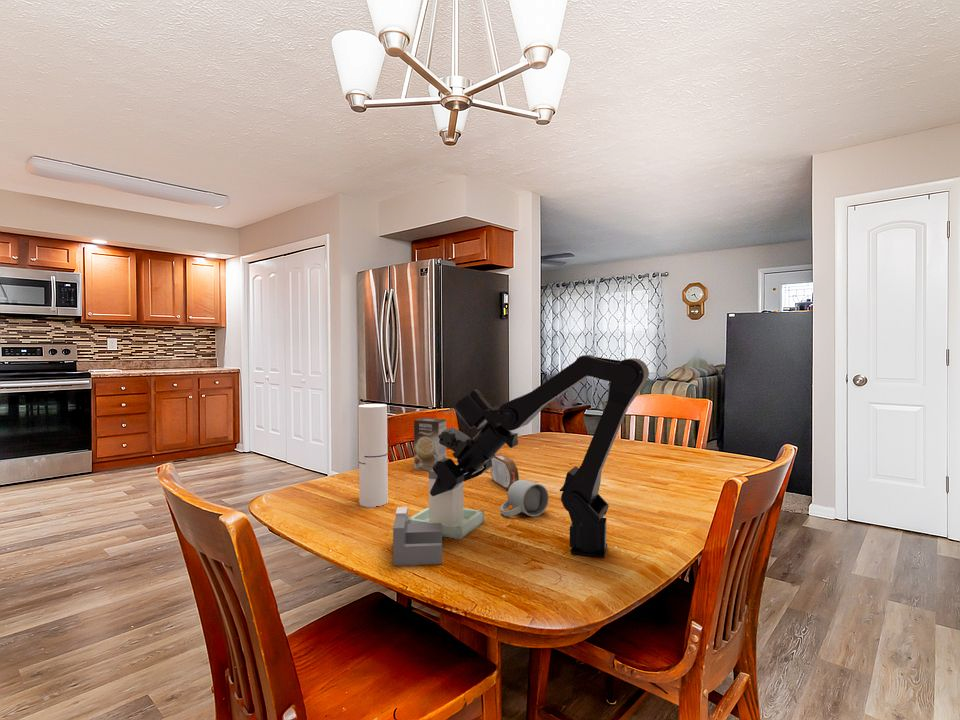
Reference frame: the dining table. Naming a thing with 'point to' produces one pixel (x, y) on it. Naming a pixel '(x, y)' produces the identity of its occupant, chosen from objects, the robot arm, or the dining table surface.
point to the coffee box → (428, 442)
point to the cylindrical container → (373, 455)
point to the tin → (504, 471)
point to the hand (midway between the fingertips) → (440, 489)
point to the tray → (452, 531)
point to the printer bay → (416, 541)
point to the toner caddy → (445, 504)
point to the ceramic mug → (526, 499)
